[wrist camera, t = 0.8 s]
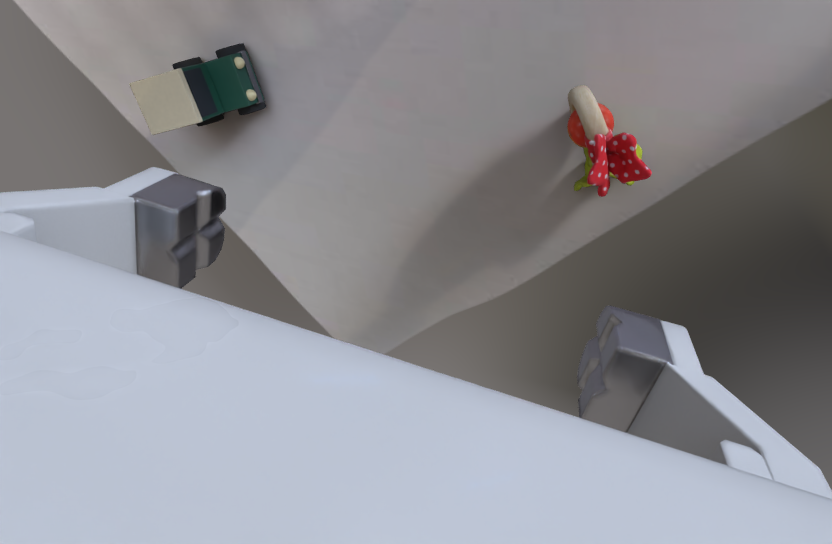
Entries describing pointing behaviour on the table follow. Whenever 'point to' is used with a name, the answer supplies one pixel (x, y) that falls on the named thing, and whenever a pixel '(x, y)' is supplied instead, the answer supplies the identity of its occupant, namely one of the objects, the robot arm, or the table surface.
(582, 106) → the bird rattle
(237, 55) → the toy jeep
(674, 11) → the table surface
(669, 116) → the table surface
